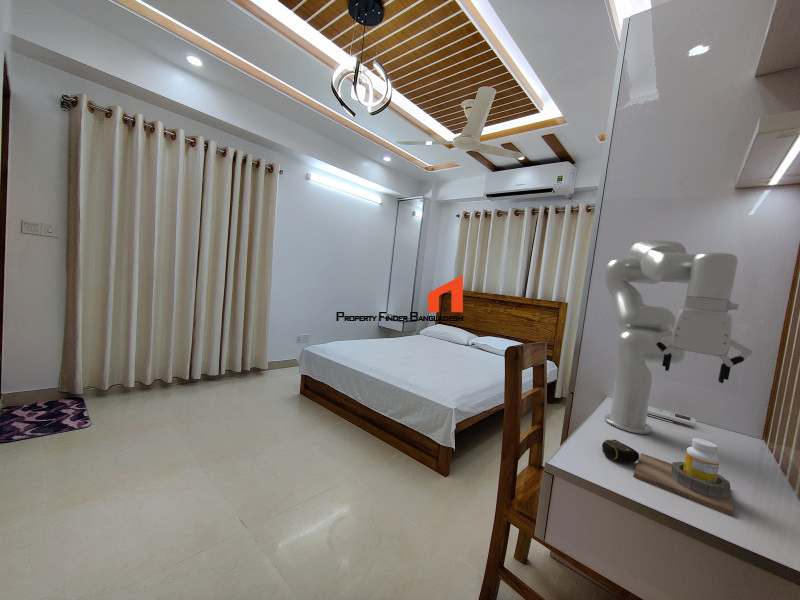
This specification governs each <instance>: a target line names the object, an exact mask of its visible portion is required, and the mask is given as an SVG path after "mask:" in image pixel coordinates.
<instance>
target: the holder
mask: <svg viewBox="0 0 800 600" xmlns="http://www.w3.org/2000/svg"><path fill="white" fill-rule="evenodd" d="M684 462H685V461H674V462H673V461H672V463H671V462H668V461H665V460H662V459H659V458H656V457H653V456H650V455H648V454H645V453H642V452H641V453H640V454H639V460H638V461H637V463H636V466H635V468H634V471H633V478H635V479H638V480H641V481H643V482H645V483H648V484H650V485H653V486H655V487H658V488H660V489H663V490H666V491H668V492H671V493H672V494H676V495H678V496H681V497H684V498H686V499H688V500H691V501H693V502H695V503H699V504H700V505H703V506H706V507H708V508H711V509H713V510H716V511H718V512H721V513H723V514H726V515H728V516H730V517H733V515H734V507H733V502H732V499H731V493H730V492H731V488H732V487H731V483H730V481H729V480H727V479H726V478H725V477H724V476H722V475H720V474H718V473H717V479H716V484H713V483H709V482H705V481H702V480H699V479H696V478H694V477H692V476H690V475H688V474H686V473H684V472H683V469H684Z"/></svg>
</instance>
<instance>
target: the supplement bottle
mask: <svg viewBox="0 0 800 600" xmlns="http://www.w3.org/2000/svg"><path fill="white" fill-rule="evenodd" d="M717 451H718V445H716V444H715V443H713V442H711V441H709V440H706V439H702V438H698V437H697V438H696V437H694V438H692V442H691V446H689V447H687V448H686V452H685V457H684V461H683V462H684V469H683V472H684V473H686V474H688V475H690V476H692V477H694V478H696V479H699V480H702V481H705V482H709V483H713V484H716V479H717V474H718V472H719V466H720V457H719V456H718V455H716V454H717Z"/></svg>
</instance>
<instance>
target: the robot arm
mask: <svg viewBox="0 0 800 600" xmlns="http://www.w3.org/2000/svg"><path fill="white" fill-rule="evenodd" d="M629 248H630V249H629V251H628V256H629V257H628V258H626V257H625V258H623V257H622V258H616V259H612V260H610V261H609V262H608V263H607V265H606V266H605V269H604V270H605V271H604V282H605V283H604V284H605V286H606V289H607V290H608V292H609V294H610V296H611V298H612V301H613V307H614V312H615V316H616V322H617V324H618V326H619V328H620V329H621V330H623V332H621V333H620V334H619V335H618V336H617V339H616V350H617V351H616V353H617V355H616V357H617V359H616V363H617V364H616V372H615V379H614V386H613V387H614V388H613V394H612V401H611V409H610V413H608V414H605V415H604V417H603V418H605V419H604V421H605V420H606V421H607V422H608V424H609V423H610V424H609V425H611V424H612V425H614V426H613V427H615V426H616V427H615V428H617V427H618V428H617V429H619V428H620V429H619V430H622V429H623V431H625V430H626V431H627V432H630V433H632V434H633V433H634V434H638V435H639V434H641V435H648V434H651V432H652V428H651V426H649V425H648V424H647V419H648V418H647V417H648V410H649V405H650V404H649V403H650V396H651V390H652V384H653V383H652V381H653V375H652V372H651V371H650V369H649V368H648V366H647V364H646V362H648V363H656V364H662V365H661V366H662V367H664V368H665V369H664V371H666V372H669V370H670V368H671V365H677V364H679V363H681V362H682V361H683V360H684V358H685V354H686V352H689V353H690V352H692V353H696V354H697V353H698V354H702V355H708V356H713V357H719V359H721V361H722V362H723V363H721V364H720V369H719V374H718V383H720V384H724V381H725V380H726V381H728V380H729V377H730V372H731V367H733V366H735V365H738V364H740V363H742V362H744V361H745V360H746V359H747V358H749V357H750V356H751V355H752V354H753V350H751V349H750V348H749V347H746V346H744V345H743V344H741V343H739V342H737V341H736V340H734V339H732V334H733V333H732V332H733V330H732V329H733V327H732V326H733V316H732V314H731V313H729V311H733V310H738V309H739V303H734V302H732V301H731V297H732V292H733V287H734V282H735V276H736V272H737V268H738V261H739V260H738V256H736V255H735V254H732V253H726V252H701V253H700V252H699V253H697V254H693V253H687V249H686V247H685V245H683V244H682V243H681V242H678V241H673V240H672V241H671V240H658V239H657V240H653V239H644V240H640V241H637V242H635V243H634V244H633V245H631V247H629ZM661 282H665V283H667V282H668V283H678V284H679V283H681V284H687V290H686V296H685V301H684V307H683V308H680V309H679V310H678V312H677V315H676V316H675V314H674V313H673V312H672V311H671V310H670V309H668V308H665V307H660V306H653V305H652V306H651V305H647V304H645V303H644V301H643V297H642V294H641V293H640V291H639V290H638V289H637V288H636V287H635V286H633V284H631V283H637V284H649V285H654V284H660V283H661ZM730 347H732V348H734V349H736V350H738V351H739V352H740V353H739V354H738V355H736V356H734V357H732V358H730V357H729V356H728V354H729V351H730ZM606 421H605V422H606ZM607 422H606V423H607ZM612 425H611V426H612Z"/></svg>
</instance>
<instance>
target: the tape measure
mask: <svg viewBox="0 0 800 600" xmlns="http://www.w3.org/2000/svg"><path fill="white" fill-rule="evenodd" d="M601 447H602V453H603V454H604V455H605V456H606V457H608V458H609V459H611V460H614V461H615V462H618V463H623V464H633V463H634V462H638V460H639V458H640V453H639V451H636V449H634V448H632V447H630V446H628V445H626V444H625V443H622V442H620V441H618V440H617V439H606V440H604V441H603V442H602V445H601Z"/></svg>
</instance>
